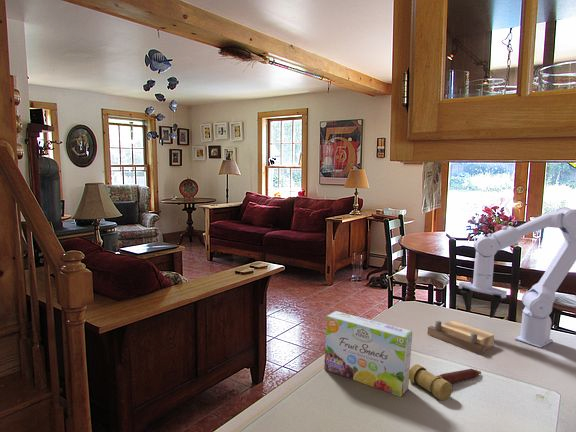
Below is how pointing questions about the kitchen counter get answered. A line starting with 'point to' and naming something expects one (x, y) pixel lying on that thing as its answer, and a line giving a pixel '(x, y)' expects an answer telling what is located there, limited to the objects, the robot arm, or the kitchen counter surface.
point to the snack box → (368, 352)
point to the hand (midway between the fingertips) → (479, 313)
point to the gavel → (440, 380)
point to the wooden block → (469, 332)
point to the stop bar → (456, 339)
